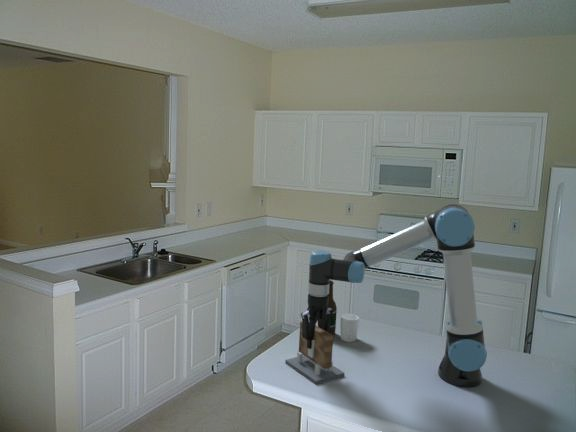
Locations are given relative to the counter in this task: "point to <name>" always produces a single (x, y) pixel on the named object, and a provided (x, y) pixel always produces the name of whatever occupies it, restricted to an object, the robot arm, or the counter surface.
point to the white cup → (349, 327)
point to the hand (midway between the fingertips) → (314, 355)
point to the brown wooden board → (318, 347)
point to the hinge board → (313, 369)
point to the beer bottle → (332, 306)
